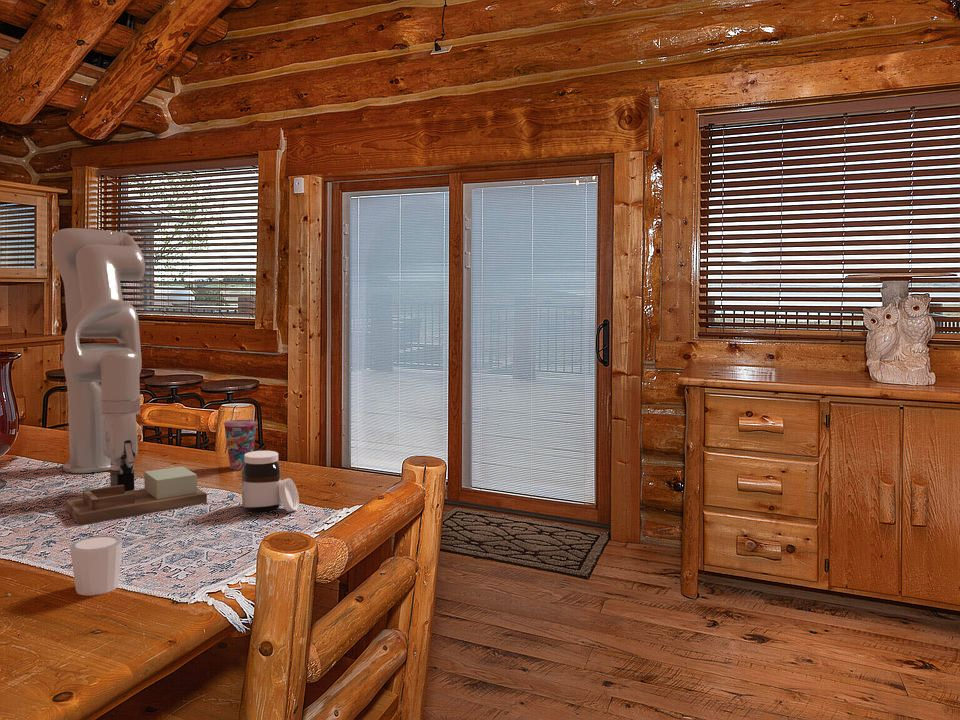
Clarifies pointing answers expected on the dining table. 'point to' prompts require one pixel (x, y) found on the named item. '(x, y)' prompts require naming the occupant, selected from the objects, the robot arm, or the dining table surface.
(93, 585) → the white tapered cylinder
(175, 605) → the dining table surface
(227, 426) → the cup
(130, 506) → the housing
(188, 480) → the pale green block
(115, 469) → the pill bottle
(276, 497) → the spread jar
